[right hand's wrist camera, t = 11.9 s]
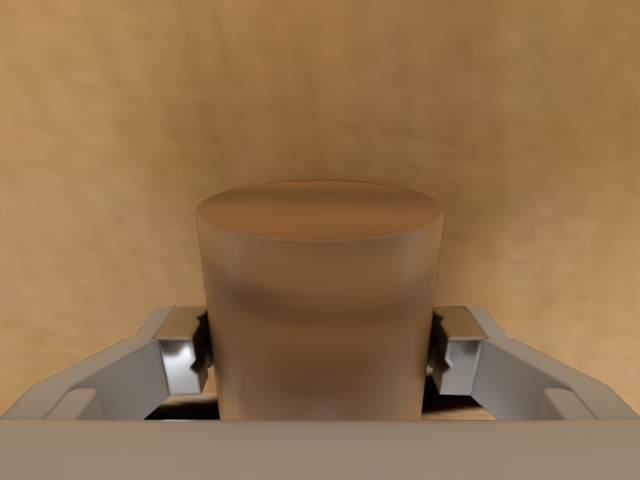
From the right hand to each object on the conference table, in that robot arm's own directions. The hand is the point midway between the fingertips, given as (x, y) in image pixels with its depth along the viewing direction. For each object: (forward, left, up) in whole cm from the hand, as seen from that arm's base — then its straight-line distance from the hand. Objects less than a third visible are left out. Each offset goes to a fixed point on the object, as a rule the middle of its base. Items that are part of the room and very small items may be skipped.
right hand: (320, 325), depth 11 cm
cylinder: (+8, -6, -3) cm, 10 cm away
